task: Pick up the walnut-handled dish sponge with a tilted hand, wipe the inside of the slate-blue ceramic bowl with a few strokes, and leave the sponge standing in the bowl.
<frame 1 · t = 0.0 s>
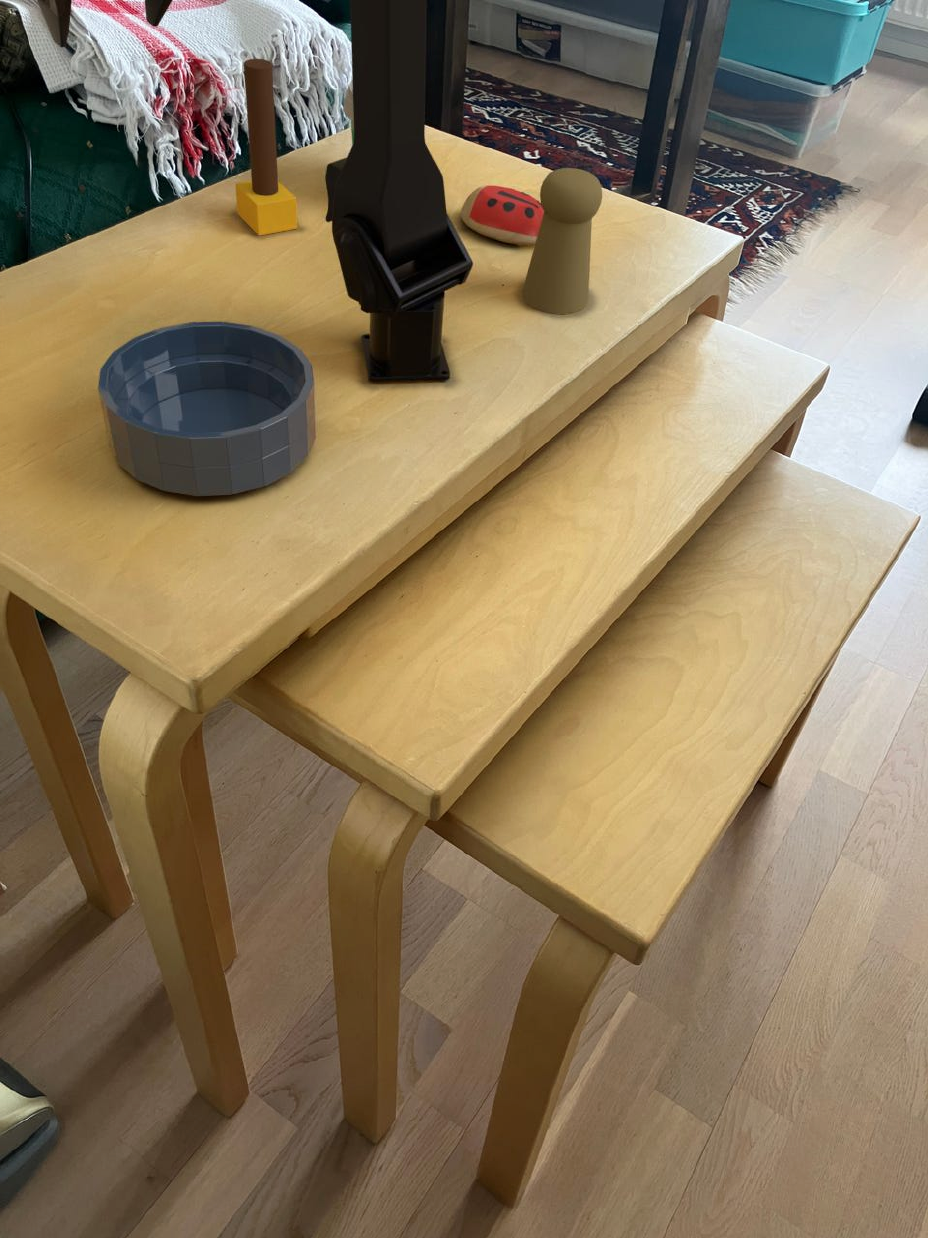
hand: (107, 33, 86), 15 cm above the table, tool pointing down, fingers open, 9 cm apart
food container: (374, 196, 104), on the table
bowl: (215, 441, 73), on the table
ladybug figurine: (504, 232, 101), on the table
olive brown pawn: (554, 298, 92), on the table
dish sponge: (267, 221, 98), on the table
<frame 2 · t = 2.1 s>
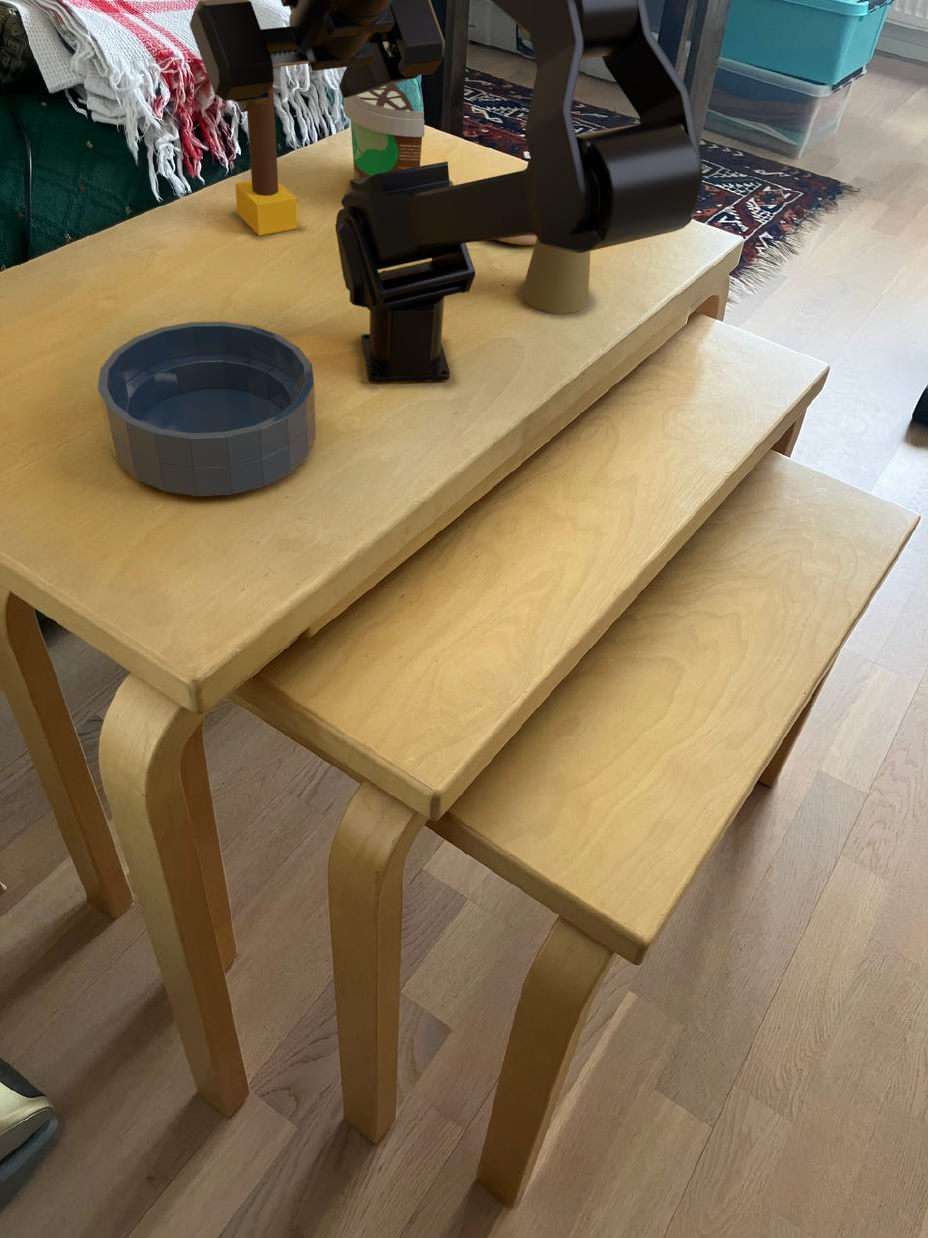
hand: (292, 98, 83), 14 cm above the table, tool tilted 45°, fingers open, 9 cm apart
nothing on the table moved.
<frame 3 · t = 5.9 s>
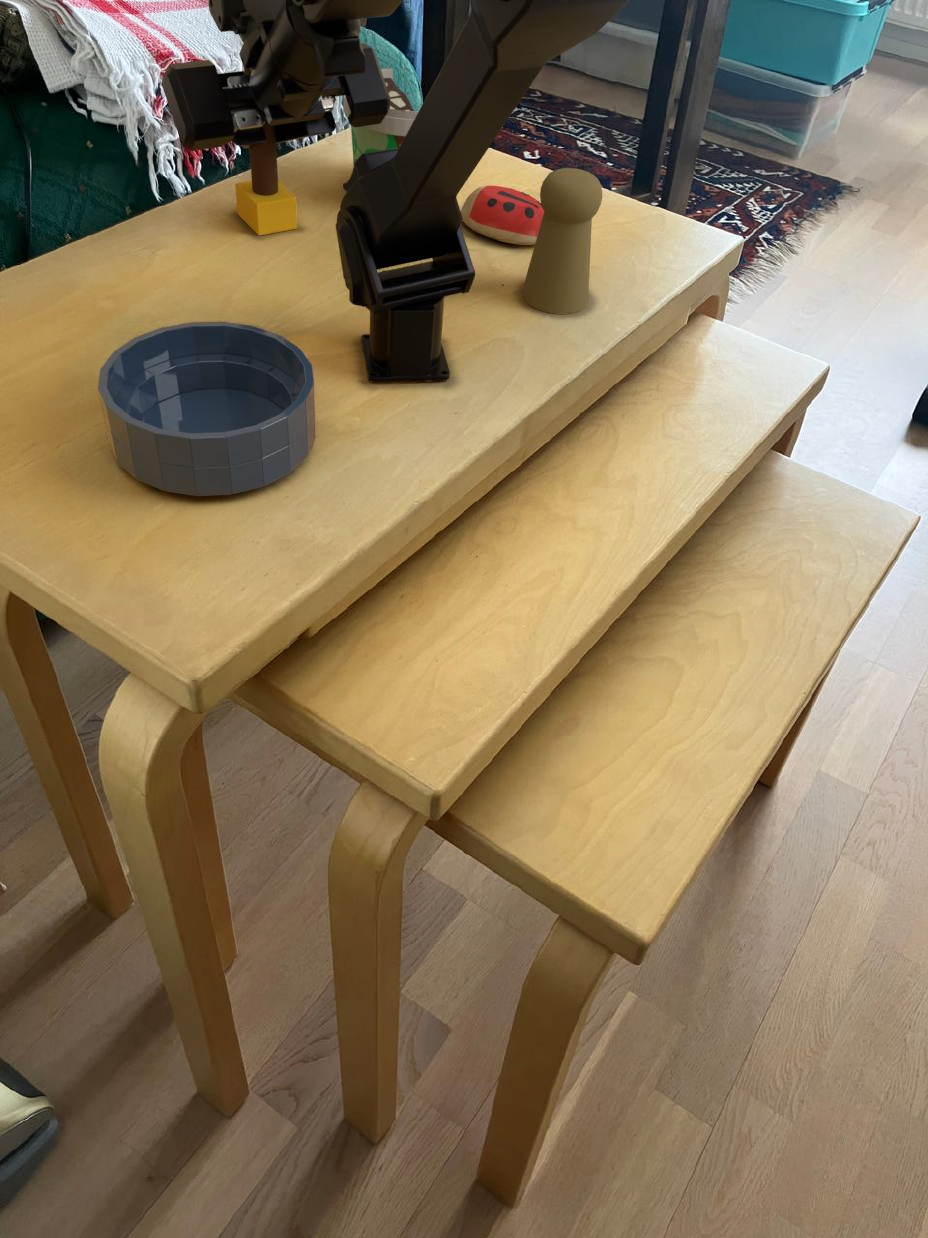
hand: (256, 140, 94), 7 cm above the table, tool tilted 45°, fingers closed on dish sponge, 2 cm apart
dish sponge: (267, 221, 98), on the table, touching gripper
everything else where it was.
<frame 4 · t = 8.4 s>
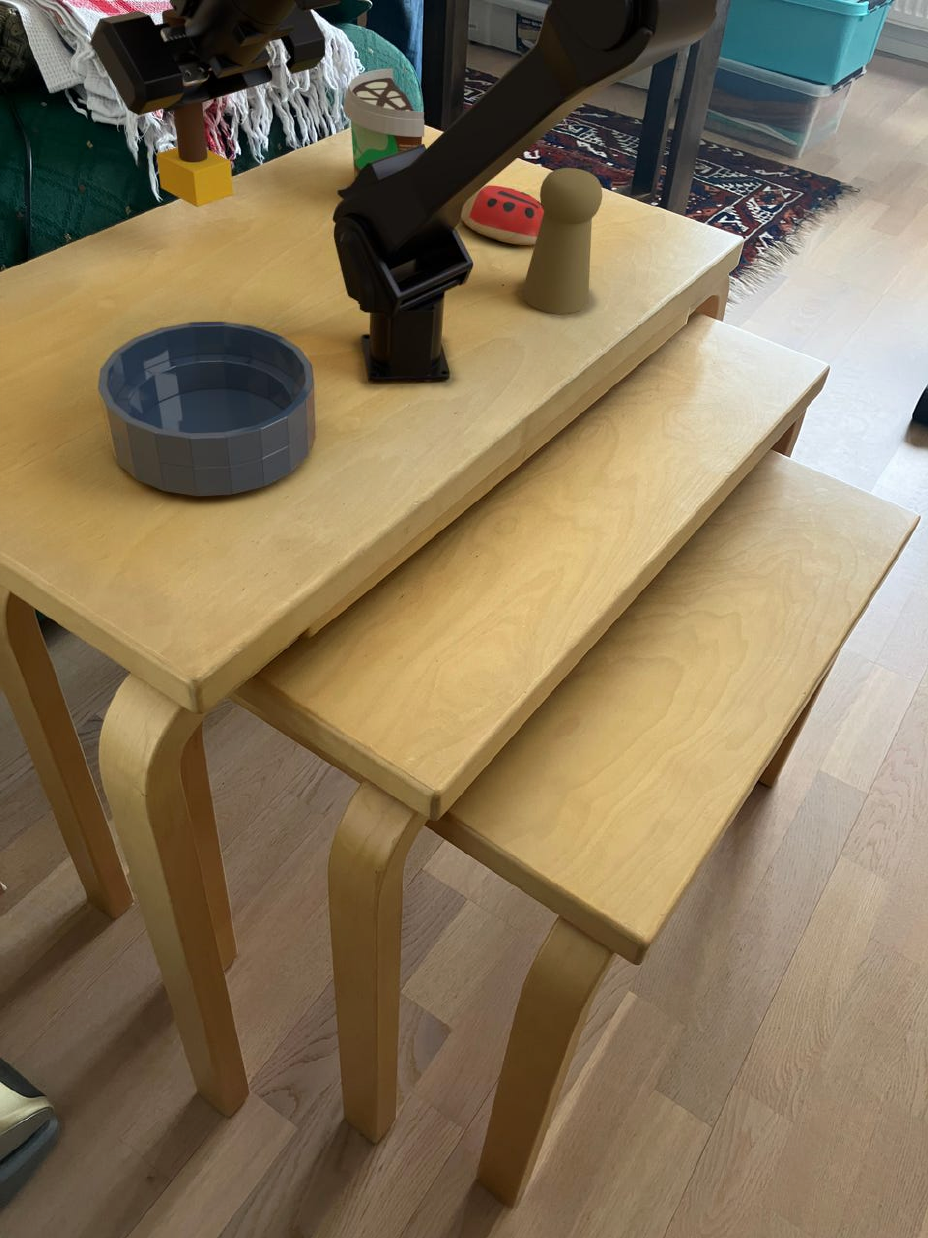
hand: (177, 102, 85), 12 cm above the table, tool tilted 45°, fingers closed on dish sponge, 2 cm apart
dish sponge: (197, 191, 90), point 5 cm above the table, touching gripper
everything else where it was.
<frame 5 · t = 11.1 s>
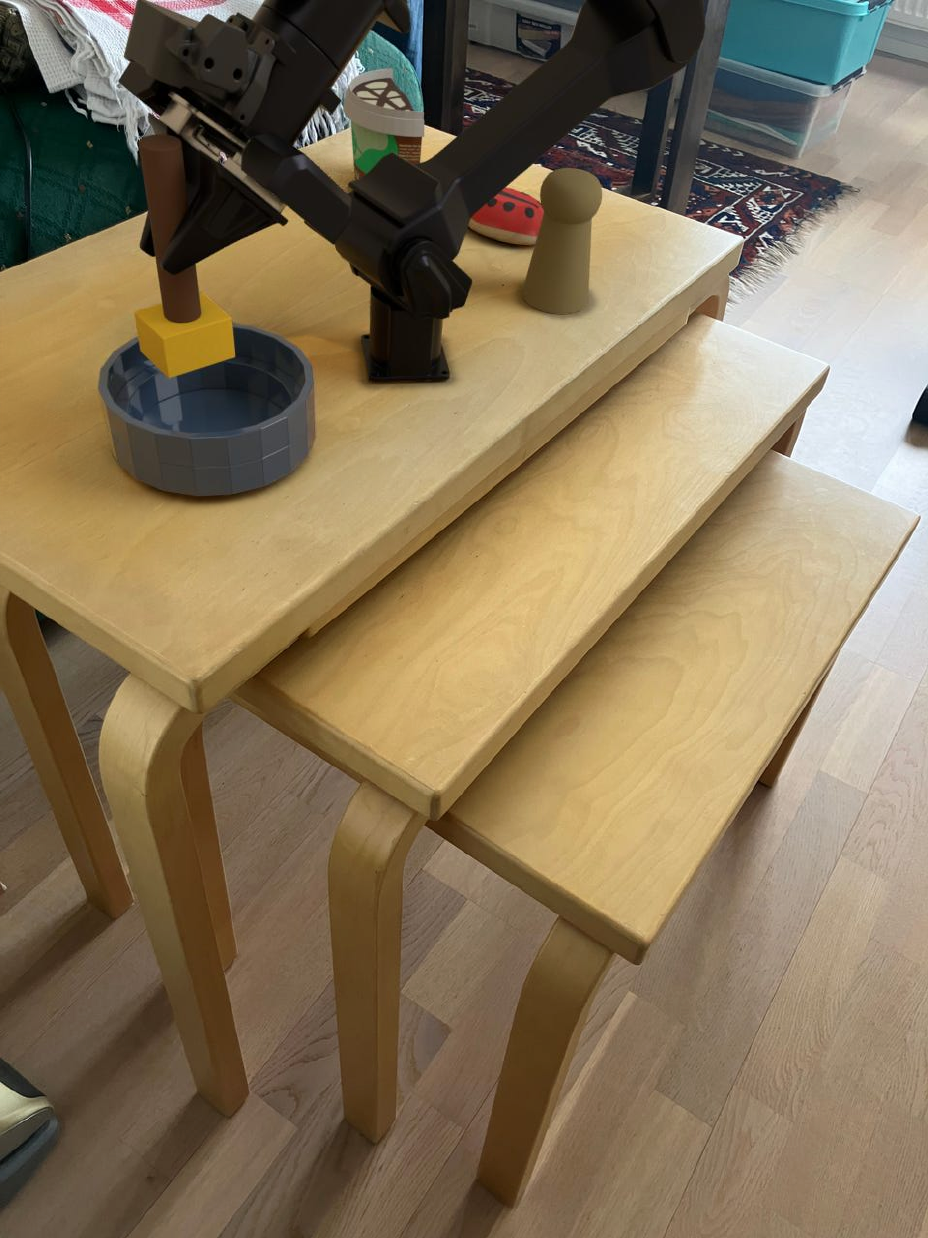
hand: (156, 261, 63), 13 cm above the table, tool tilted 45°, fingers closed on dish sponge, 2 cm apart
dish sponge: (188, 354, 69), point 7 cm above the table, touching gripper
everything else where it was.
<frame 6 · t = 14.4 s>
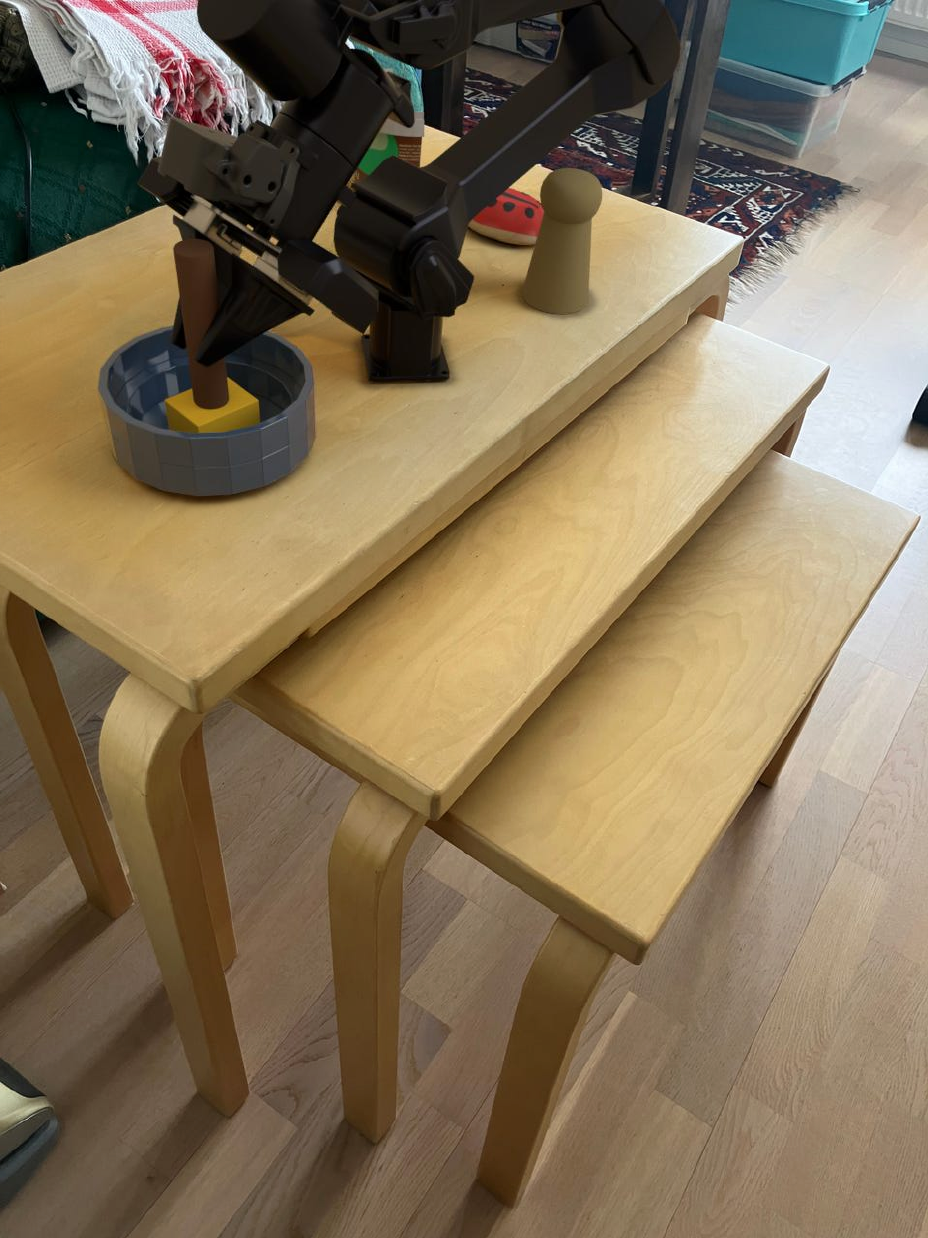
hand: (188, 354, 67), 8 cm above the table, tool tilted 45°, fingers closed on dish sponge, 2 cm apart
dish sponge: (215, 435, 72), point 1 cm above the table, touching gripper
everything else where it was.
when the fingers open (8 cm above the table, at t = 16.6 s): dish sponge stays where it is, resting on bowl.
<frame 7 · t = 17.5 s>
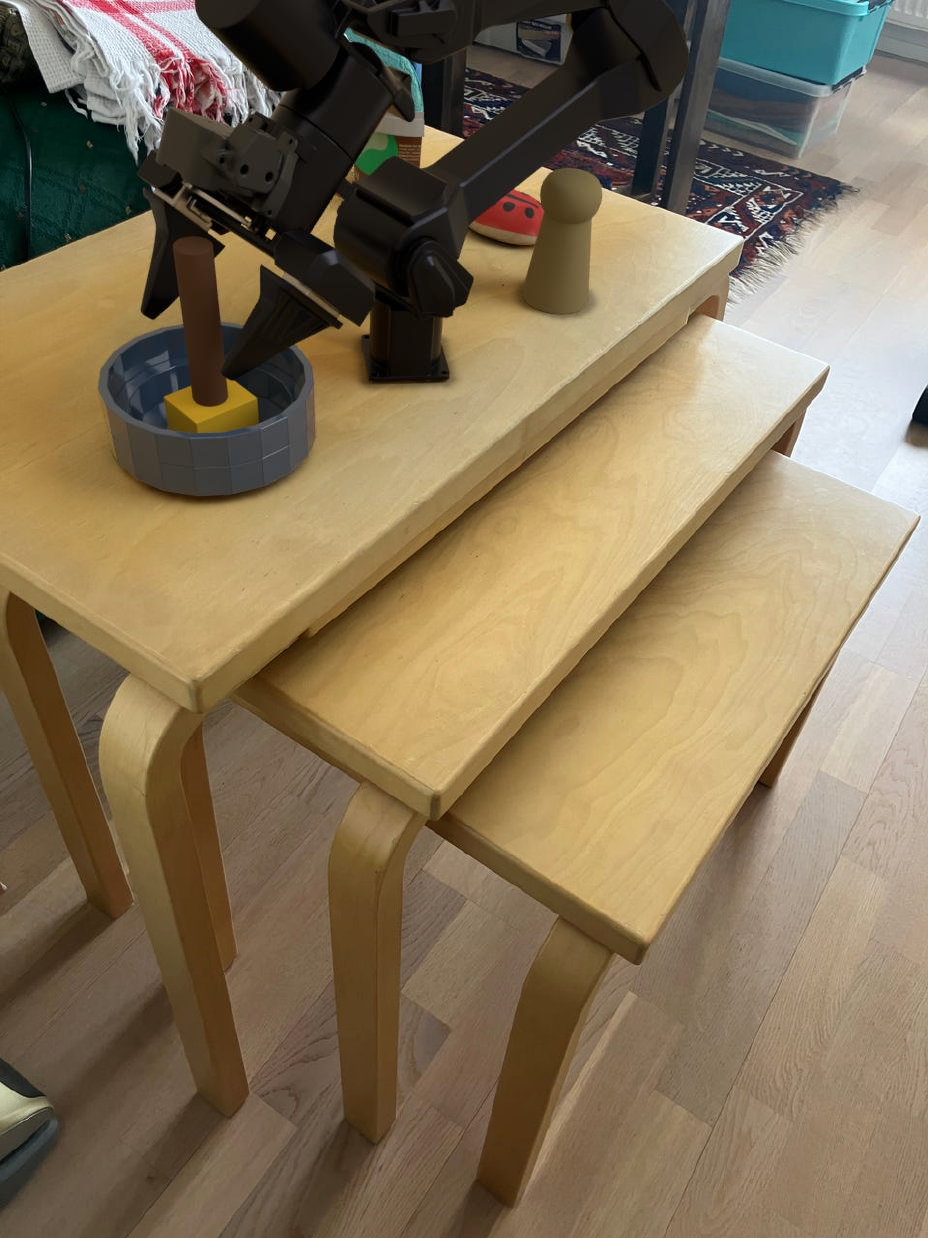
hand: (185, 345, 67), 8 cm above the table, tool tilted 45°, fingers open, 9 cm apart
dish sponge: (214, 432, 73), point 1 cm above the table, touching bowl
everything else where it was.
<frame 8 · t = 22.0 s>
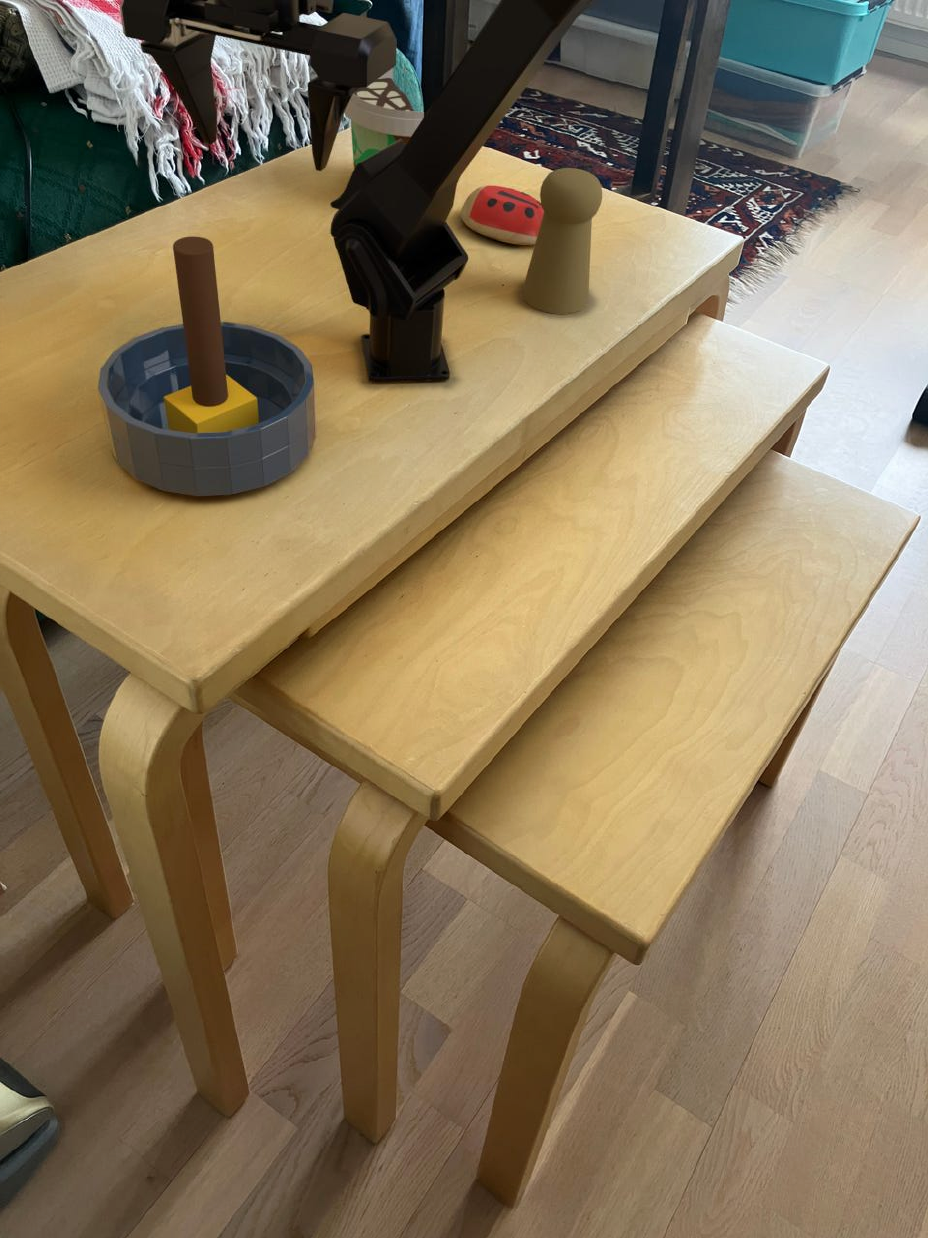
hand: (265, 155, 77), 13 cm above the table, tool pointing down, fingers open, 9 cm apart
nothing on the table moved.
at the end: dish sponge inside the target area in the bowl (0.0 cm from its centre), point 0.8 cm above the bowl's base; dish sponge tilted 0°; the gripper is holding nothing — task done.
